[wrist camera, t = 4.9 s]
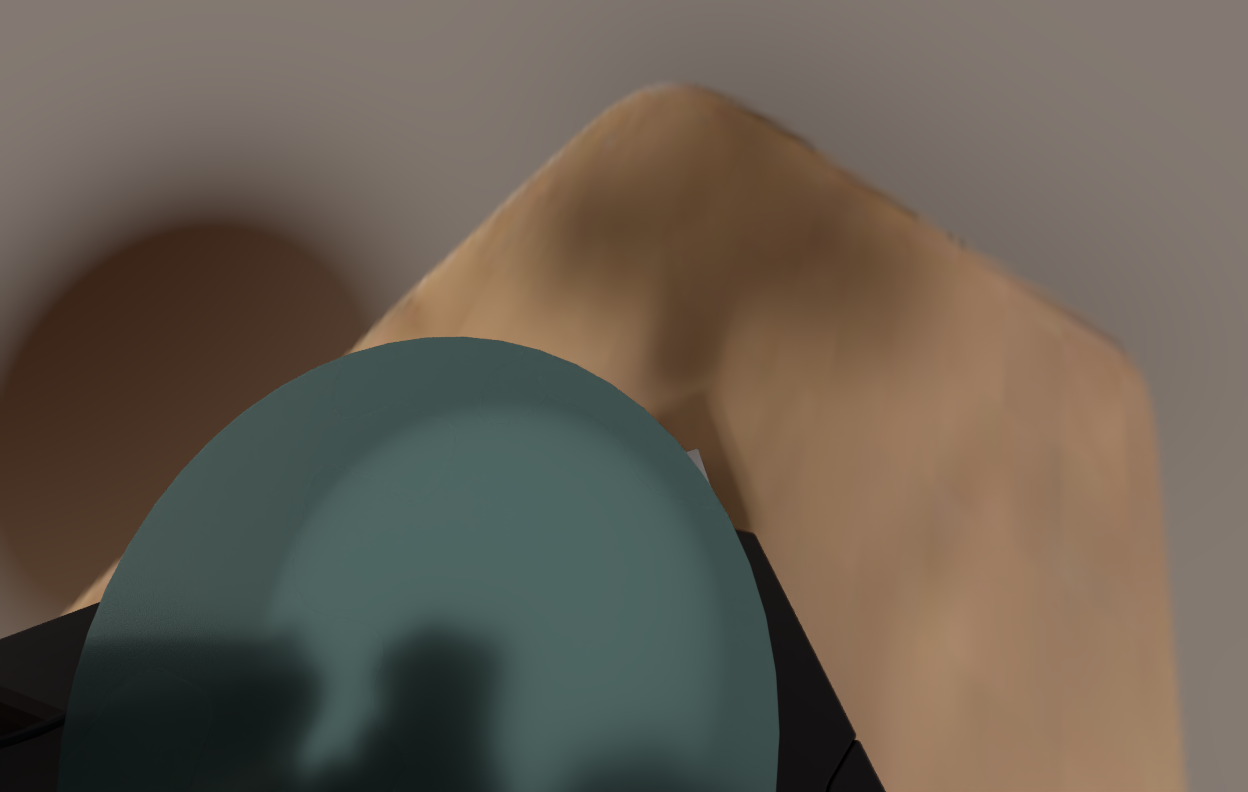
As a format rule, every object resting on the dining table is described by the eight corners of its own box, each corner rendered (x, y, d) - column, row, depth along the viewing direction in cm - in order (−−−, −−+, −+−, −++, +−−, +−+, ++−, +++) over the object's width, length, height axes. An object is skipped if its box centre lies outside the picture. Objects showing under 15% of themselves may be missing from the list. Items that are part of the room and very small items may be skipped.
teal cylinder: (730, 638, 12) (933, 1055, 2) (543, 698, 12) (33, 1330, 3) (666, 451, 13) (636, 256, 4) (499, 506, 14) (73, 448, 4)
